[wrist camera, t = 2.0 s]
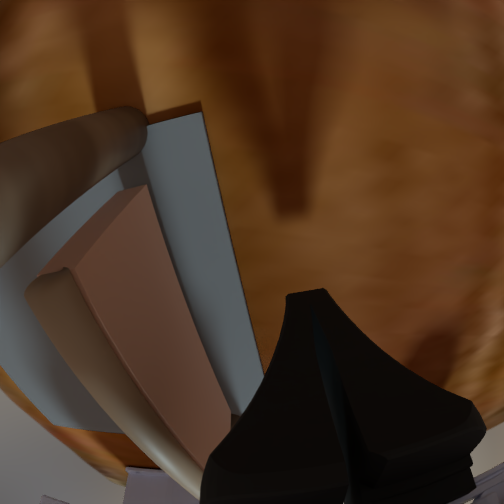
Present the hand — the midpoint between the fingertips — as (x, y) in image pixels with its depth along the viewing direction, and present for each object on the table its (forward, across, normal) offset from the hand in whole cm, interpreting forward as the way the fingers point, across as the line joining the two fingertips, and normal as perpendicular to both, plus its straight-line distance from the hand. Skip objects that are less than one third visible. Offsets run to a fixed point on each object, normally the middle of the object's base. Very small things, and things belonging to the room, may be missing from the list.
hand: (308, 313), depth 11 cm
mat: (+3, +12, +3) cm, 13 cm away
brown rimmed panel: (+2, +5, +2) cm, 6 cm away
